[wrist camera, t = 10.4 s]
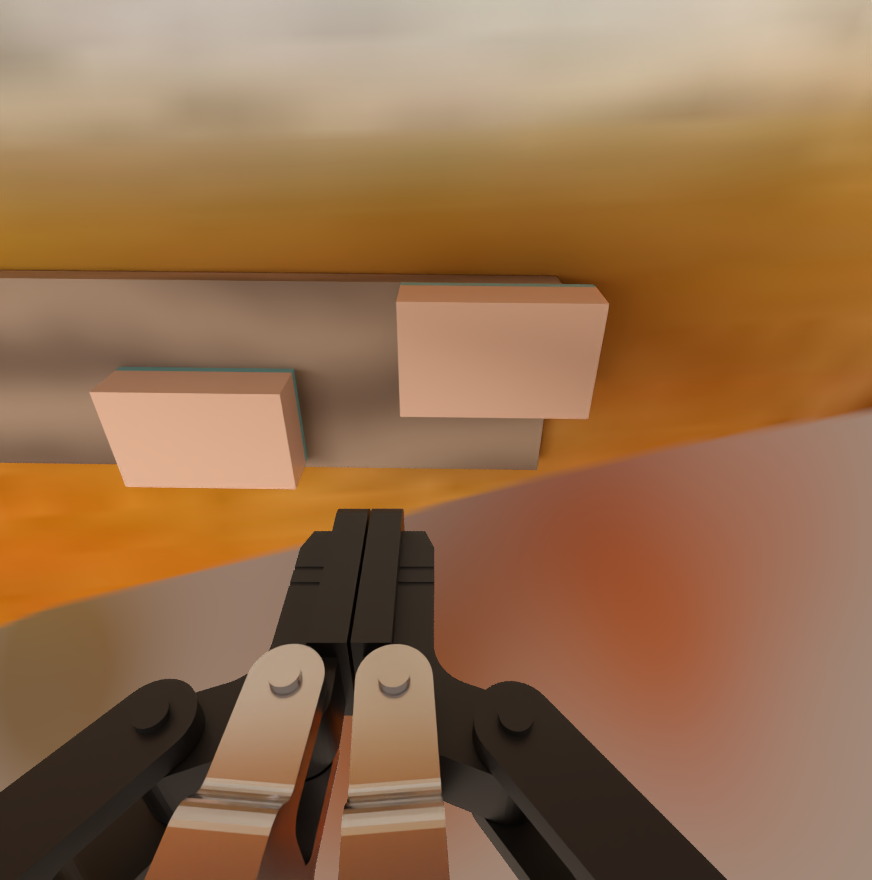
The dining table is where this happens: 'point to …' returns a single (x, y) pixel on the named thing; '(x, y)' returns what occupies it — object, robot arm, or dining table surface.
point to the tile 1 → (203, 426)
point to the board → (233, 361)
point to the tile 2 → (498, 349)
